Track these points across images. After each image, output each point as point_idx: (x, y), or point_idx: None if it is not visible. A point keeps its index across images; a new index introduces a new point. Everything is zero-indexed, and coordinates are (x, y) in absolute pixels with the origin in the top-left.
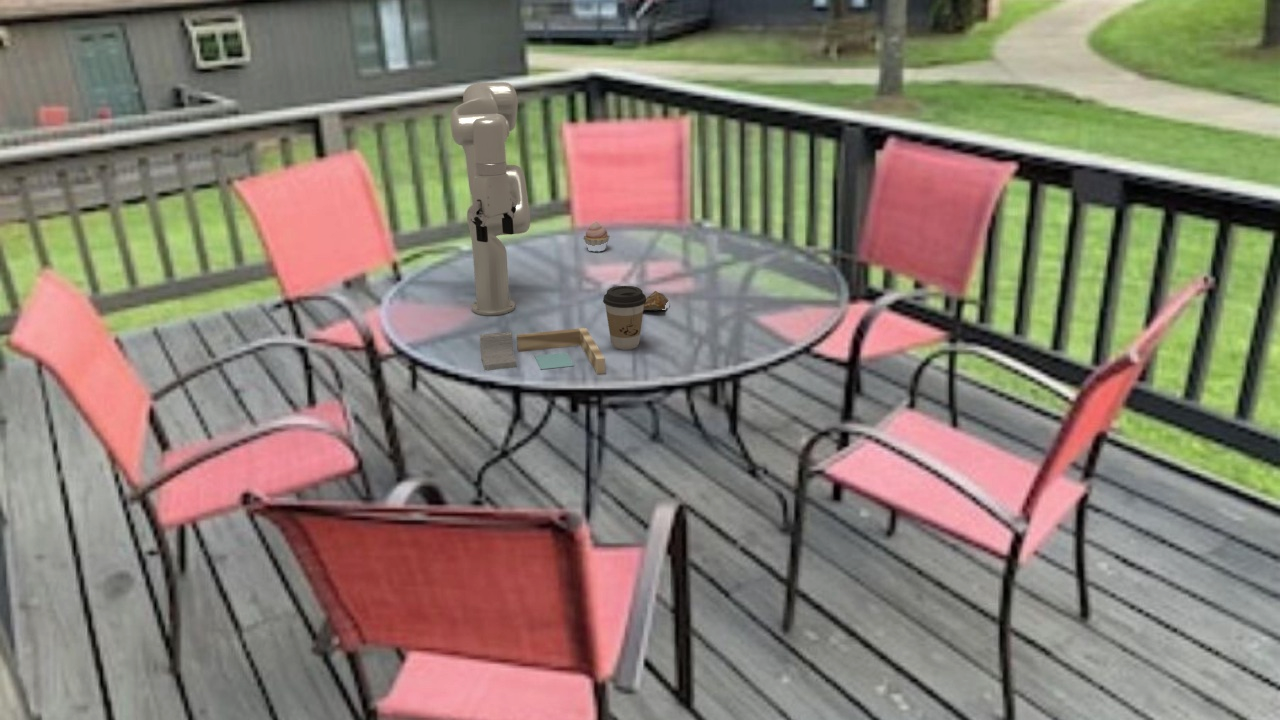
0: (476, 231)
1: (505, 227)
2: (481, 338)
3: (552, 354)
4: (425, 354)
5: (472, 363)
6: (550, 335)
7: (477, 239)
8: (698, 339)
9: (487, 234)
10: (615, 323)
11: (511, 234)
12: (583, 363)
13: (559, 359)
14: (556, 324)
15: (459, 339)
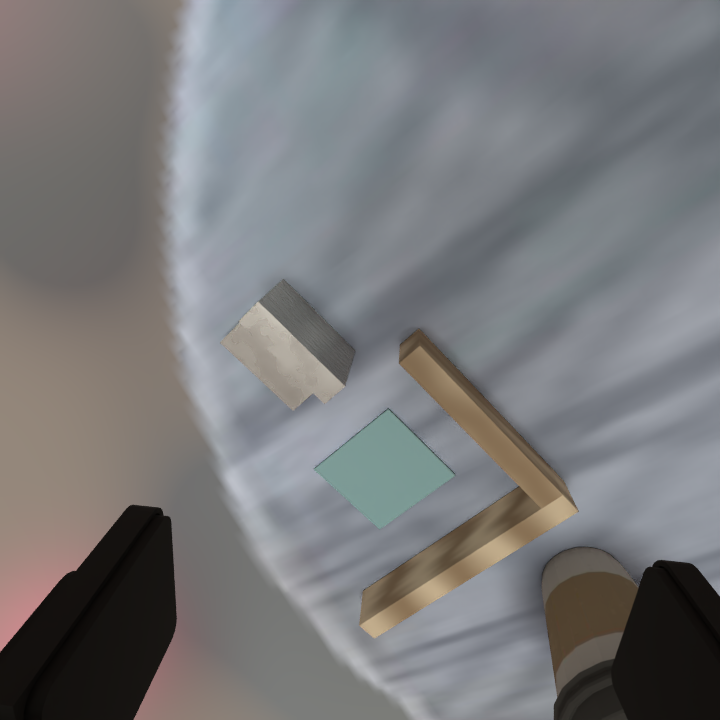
0: (58, 598)
1: (677, 682)
2: (241, 322)
3: (422, 448)
4: (214, 51)
5: (246, 268)
6: (475, 439)
7: (127, 519)
8: None
9: (134, 712)
10: (552, 643)
11: (617, 668)
12: (408, 539)
13: (398, 480)
14: (693, 322)
15: (403, 67)
